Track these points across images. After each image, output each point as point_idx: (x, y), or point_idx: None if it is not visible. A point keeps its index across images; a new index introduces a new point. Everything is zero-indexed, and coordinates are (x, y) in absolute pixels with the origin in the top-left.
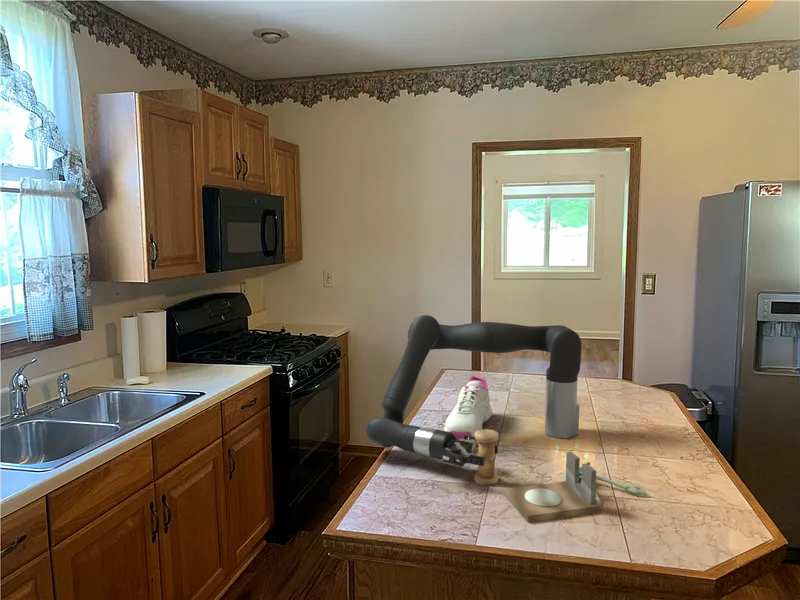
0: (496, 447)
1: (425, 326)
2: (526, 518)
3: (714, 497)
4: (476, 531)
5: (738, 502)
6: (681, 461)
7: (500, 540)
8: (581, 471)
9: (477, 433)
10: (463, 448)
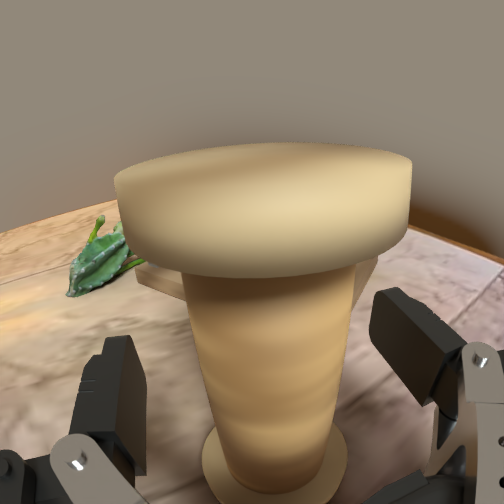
0: (131, 339)
1: None
2: (376, 259)
3: (101, 210)
4: (495, 284)
5: (106, 204)
6: (2, 243)
7: (460, 257)
8: (104, 249)
9: (357, 167)
10: (488, 421)
